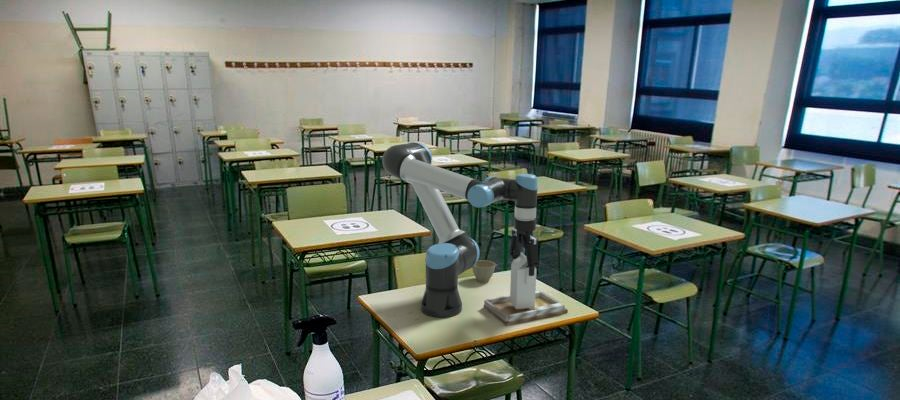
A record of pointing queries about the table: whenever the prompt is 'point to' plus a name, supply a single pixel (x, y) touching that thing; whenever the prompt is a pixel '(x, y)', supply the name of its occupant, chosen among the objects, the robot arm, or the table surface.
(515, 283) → the milk carton
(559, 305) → the divided compartment tray
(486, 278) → the flower pot
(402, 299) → the table surface
